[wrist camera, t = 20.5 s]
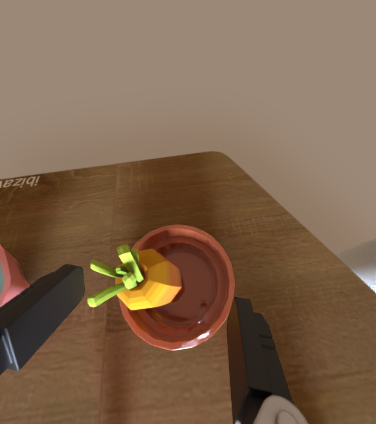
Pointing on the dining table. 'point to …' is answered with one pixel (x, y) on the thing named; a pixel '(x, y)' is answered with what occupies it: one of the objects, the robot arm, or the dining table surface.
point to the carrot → (139, 279)
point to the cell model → (10, 277)
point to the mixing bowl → (186, 289)
